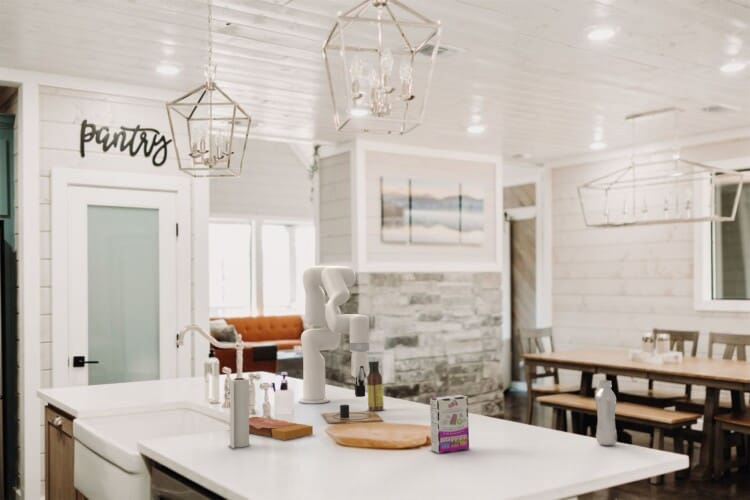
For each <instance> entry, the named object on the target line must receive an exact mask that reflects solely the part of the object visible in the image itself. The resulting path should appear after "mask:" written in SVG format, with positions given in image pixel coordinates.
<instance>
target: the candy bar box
mask: <svg viewBox="0 0 750 500" xmlns="http://www.w3.org/2000/svg"><path fill="white" fill-rule="evenodd" d="M468 402H469V401H468V396H467V395H462V394H455V395H454V394H453V395H445V396H435V397H429V409H430V441H431V442H430V443H431V444H430V445H431V452H433V453H437V454H440V455H441V454H448V453H455V452H461V451H468V450H470V433H469V432H470V431H469V430H470V429H469V403H468Z"/></svg>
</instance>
